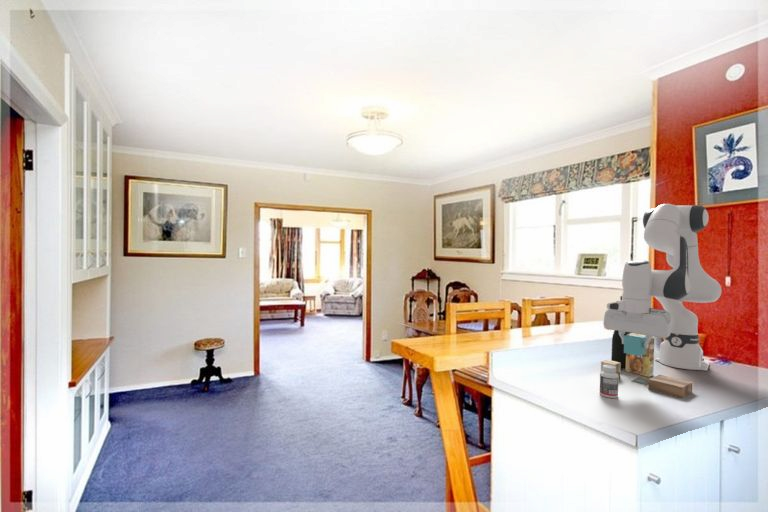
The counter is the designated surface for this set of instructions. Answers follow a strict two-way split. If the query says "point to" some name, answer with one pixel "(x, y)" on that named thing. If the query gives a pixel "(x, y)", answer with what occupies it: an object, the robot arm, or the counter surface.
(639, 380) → the card
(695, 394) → the counter surface
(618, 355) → the wine bottle
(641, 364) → the candy box
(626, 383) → the counter surface
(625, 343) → the teal block
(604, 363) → the birch block
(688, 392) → the walnut plinth
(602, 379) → the pill bottle
